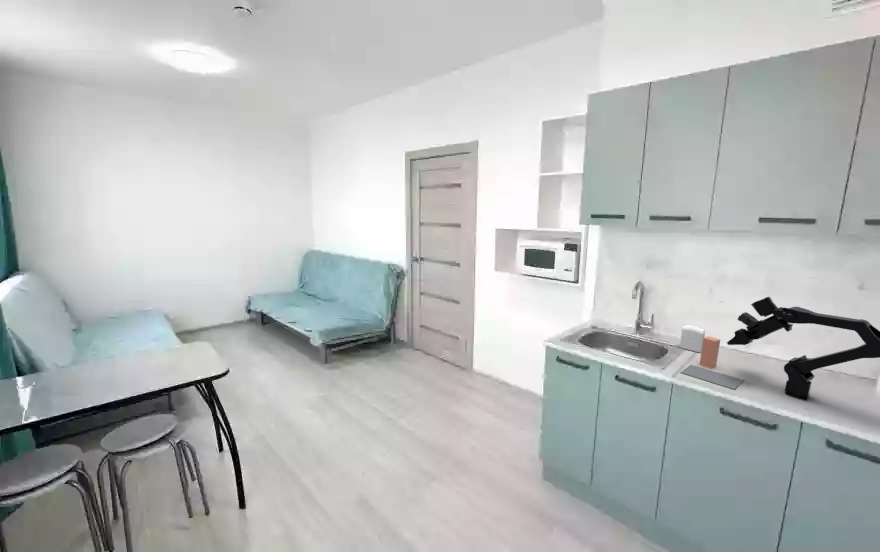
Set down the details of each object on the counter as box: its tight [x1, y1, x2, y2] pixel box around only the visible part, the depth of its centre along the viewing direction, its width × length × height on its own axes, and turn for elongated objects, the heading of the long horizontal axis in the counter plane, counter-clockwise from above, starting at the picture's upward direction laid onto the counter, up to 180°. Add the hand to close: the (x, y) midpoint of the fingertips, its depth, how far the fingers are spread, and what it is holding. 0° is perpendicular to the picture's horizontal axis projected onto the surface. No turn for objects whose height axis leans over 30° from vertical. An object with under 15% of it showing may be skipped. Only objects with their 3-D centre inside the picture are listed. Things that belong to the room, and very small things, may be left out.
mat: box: [680, 364, 745, 391], centre depth 171 cm, size 20×13×1 cm, turn 40°
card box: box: [699, 335, 721, 369], centre depth 182 cm, size 5×4×13 cm
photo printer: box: [679, 325, 706, 354], centre depth 201 cm, size 10×4×12 cm, turn 39°
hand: (732, 341), depth 174 cm, fingers open, 9 cm apart
